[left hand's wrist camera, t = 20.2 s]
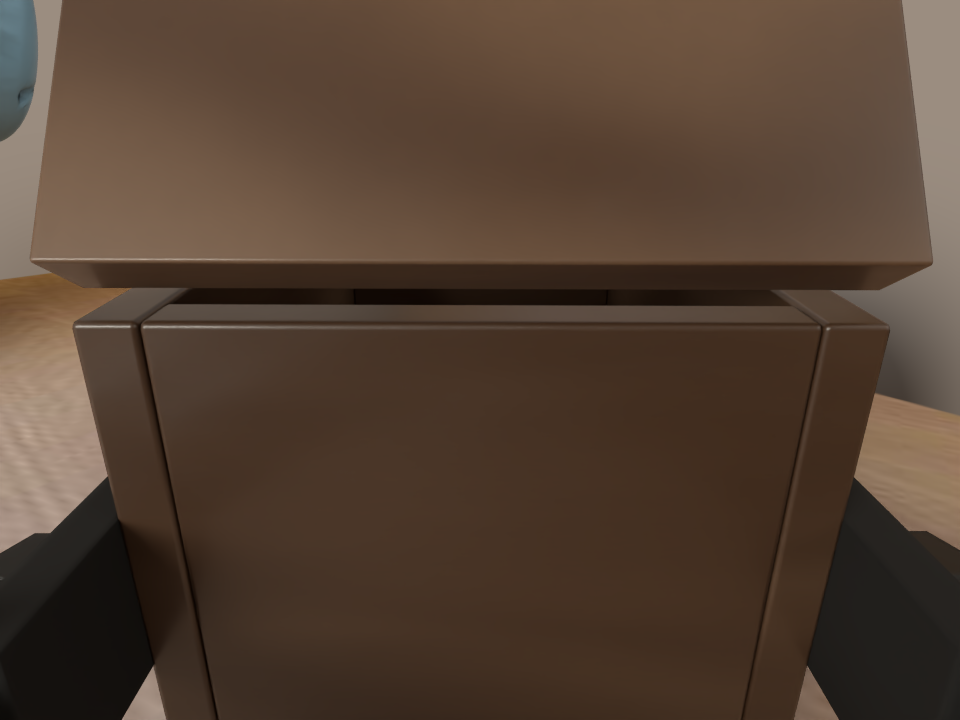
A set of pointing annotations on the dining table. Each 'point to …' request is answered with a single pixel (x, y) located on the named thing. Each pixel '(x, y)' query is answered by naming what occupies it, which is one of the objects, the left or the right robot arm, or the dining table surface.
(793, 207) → the lid
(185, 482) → the chest
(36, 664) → the left robot arm
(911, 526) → the dining table surface
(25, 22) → the right robot arm
